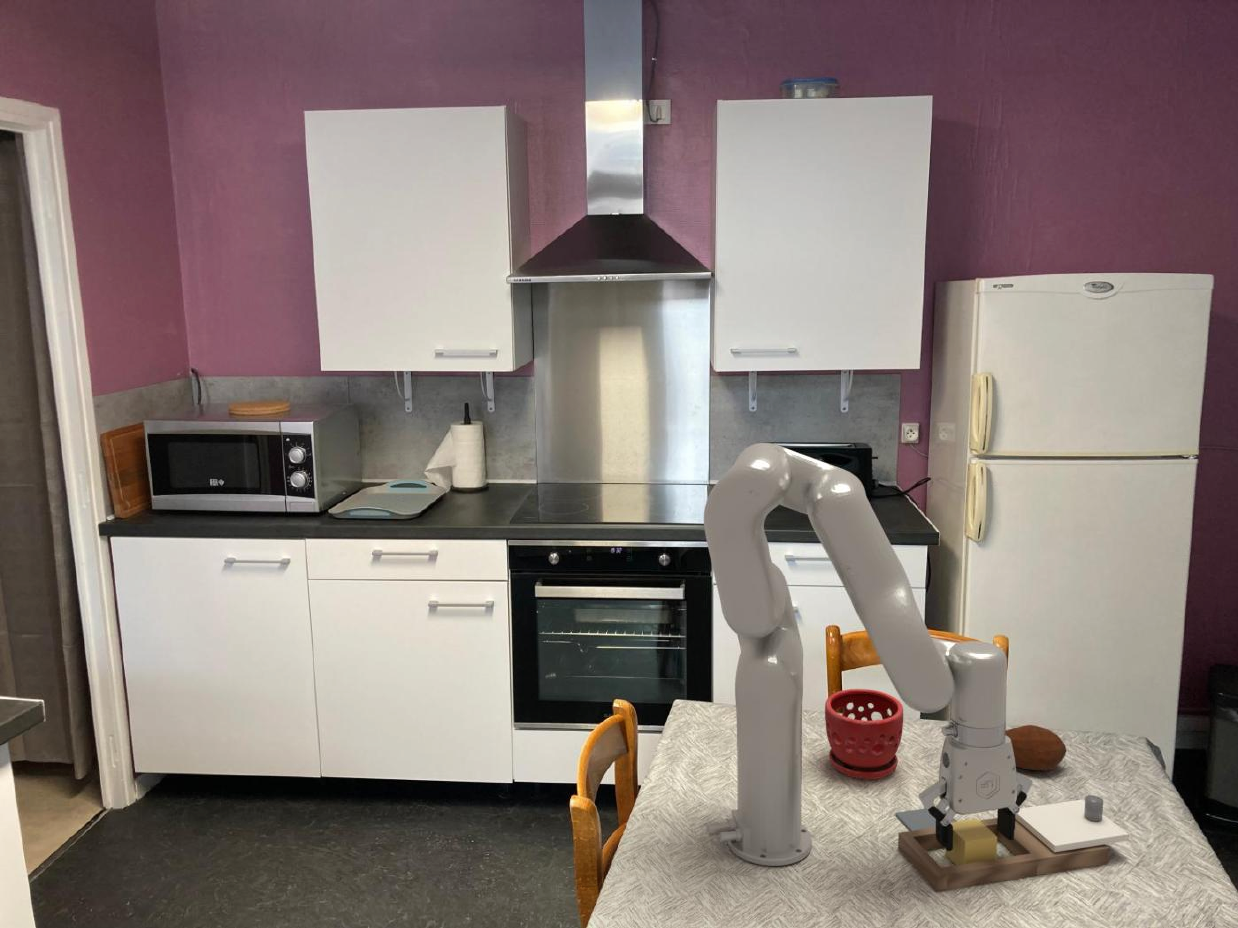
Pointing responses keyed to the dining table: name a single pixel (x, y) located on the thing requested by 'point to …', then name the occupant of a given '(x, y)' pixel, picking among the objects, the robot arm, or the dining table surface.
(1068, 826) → the lid
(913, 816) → the mat
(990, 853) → the block
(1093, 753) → the dining table surface
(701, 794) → the dining table surface
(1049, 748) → the potato
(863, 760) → the plant pot
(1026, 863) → the brown box
